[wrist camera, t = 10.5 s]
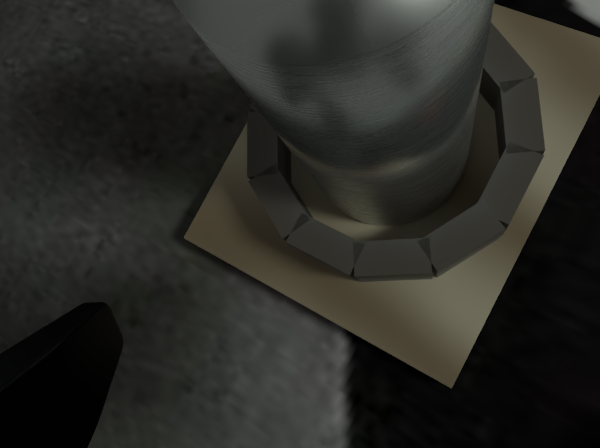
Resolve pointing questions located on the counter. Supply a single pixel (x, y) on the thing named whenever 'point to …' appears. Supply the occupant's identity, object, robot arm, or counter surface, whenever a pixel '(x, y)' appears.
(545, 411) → the counter surface
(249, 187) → the socket plate
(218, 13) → the steel peg
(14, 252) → the counter surface
